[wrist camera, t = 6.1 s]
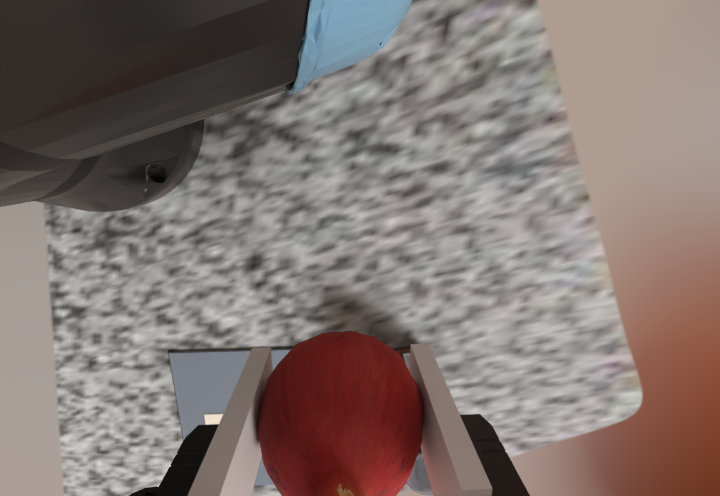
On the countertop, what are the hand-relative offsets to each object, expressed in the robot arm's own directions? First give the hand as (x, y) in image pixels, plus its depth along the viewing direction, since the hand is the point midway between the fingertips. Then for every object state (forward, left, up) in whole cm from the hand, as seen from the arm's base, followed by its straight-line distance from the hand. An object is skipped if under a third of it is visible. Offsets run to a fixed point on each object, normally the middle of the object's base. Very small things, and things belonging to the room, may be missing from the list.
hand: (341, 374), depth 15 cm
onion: (0, 0, -2) cm, 2 cm away
